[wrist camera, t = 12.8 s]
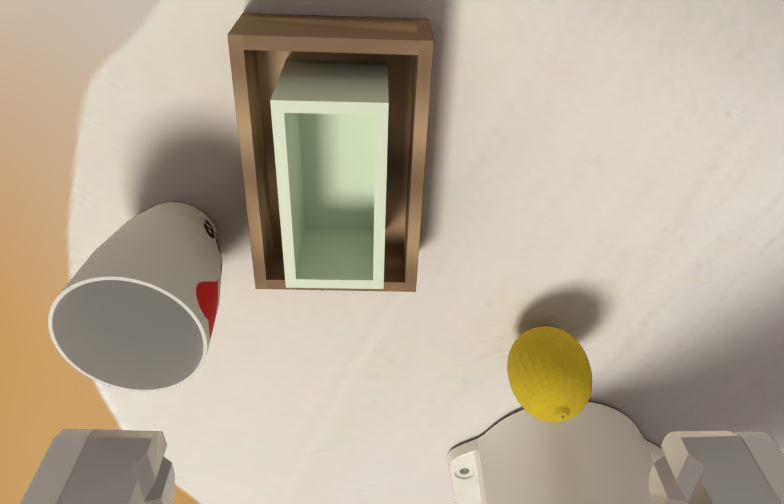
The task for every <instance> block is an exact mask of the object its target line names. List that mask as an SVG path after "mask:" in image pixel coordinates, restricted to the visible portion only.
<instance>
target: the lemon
mask: <svg viewBox="0 0 784 504" xmlns="http://www.w3.org/2000/svg"><path fill="white" fill-rule="evenodd" d="M507 371H508V377H509V381H510V385H511V388H512V390H513V393H514V395H515V396H516V398H517V400H518V401H519V403H520V404H521V406H522V407H523V408H524V409H525V410H526V411H527V412H528V413H529V414H531V415H532V416H533V417H535V418H537V419H540V420H542V421H546V422H552V423H558V422H564V421H567V420H570V419H572V418H574V417H575V416H577V415H578V414H579V413H581V412H582V410H583V409H584V408H585V407H586V405H587V404H588V401H589V399H590V396H591V392H592V372H591V367H590V364H589V361H588V358H587V355H586V353H585V351H584V350H583V348H582V347H581V345H580V344H579V343H578V342H577V340H576V339H575V338H574V337H573V336H571V335H570V334H568V333H567V332H565V331H564V330H561V329H558V328H556V327H550V326H541V327H536V328H532V329H530V330H528V331H526V332H524V333H523V334H522V335H520V336H519V337H518V339H517V340H516V341H515V342H514V344H513V345H512V348H511V350H510V352H509V356H508V364H507Z"/></svg>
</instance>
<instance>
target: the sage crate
mask: <svg viewBox="0 0 784 504" xmlns="http://www.w3.org/2000/svg"><path fill="white" fill-rule="evenodd" d="M270 104H271V116H272V128H273V140H274V152H275V164H276V176H277V188H278V200H279V212H280V224H281V236H282V248H283V260H284V272H285V283H286V288H346V289H384V253H385V217H386V180H387V143H388V106H389V99H388V62H378V61H337V60H296V59H286V61H285V64H284V66H283V69H282V71H281V74H280V76H279V79H278V82H277V84H276V87H275V89H274V92H273V94H272V97H271V99H270Z"/></svg>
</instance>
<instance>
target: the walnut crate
mask: <svg viewBox="0 0 784 504" xmlns="http://www.w3.org/2000/svg"><path fill="white" fill-rule="evenodd" d="M433 42H434V41H433V36H432V32H431V28H430V23H429V19H406V18H375V17H344V16H312V15H281V14H250V13H242V15H241V16H240V18H239V19H238V20H237V22H236V23H235V25H234V26H233V28H232V29H231V30H230V32H229V33H228V44H229V53H230V62H231V71H232V80H233V89H234V98H235V107H236V116H237V125H238V134H239V143H240V152H241V161H242V170H243V179H244V188H245V197H246V206H247V215H248V224H249V233H250V242H251V251H252V260H253V269H254V278H255V287H256V289H296V290H350V291H403V292H416V282H417V268H418V254H419V240H420V226H421V212H422V198H423V183H424V169H425V155H426V141H427V127H428V113H429V99H430V85H431V71H432V56H433ZM286 59H296V60H337V61H378V62H388V99H389V106H388V143H387V180H386V217H385V253H384V289H346V288H286V283H285V272H284V260H283V248H282V236H281V224H280V212H279V200H278V188H277V176H276V164H275V152H274V140H273V128H272V116H271V104H270V99H271V97H272V94H273V92H274V89H275V87H276V84H277V82H278V79H279V76H280V74H281V71H282V69H283V66H284V64H285V61H286Z"/></svg>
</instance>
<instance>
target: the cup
mask: <svg viewBox="0 0 784 504" xmlns="http://www.w3.org/2000/svg"><path fill="white" fill-rule="evenodd" d="M221 272H222V257H221V251H220V244H219V238H218V233H217V230H216V227H215V225H214V224H213V222H212V221H211V220H210V218H209V217H208V216H207V215H205V214H204V213H203V212H202V211H200V210H199V209H197V208H195V207H193V206H191V205H188V204H184V203H179V202H166V203H161V204H158V205H156V206H154V207H152V208H150V209H148V210H146V211H145V212H143V213H141V214H139V215H137V216H136V217H134V218H132V219H130V220H129V221H128V222H126V223H125V224H124V225H123V226H122V227H121V228H120V229H118V230H117V231H116V232H115V233H114V234H113V235H112V236H111V237H110V238H108V239H107V240H106V241H105V242H104V243H103V244H102V245H101V246H100V247H98V248H97V249H96V250H95V251H94V252H93V253H92V255H91V256H90V257H89V258H88V260H87V261H86V262H85V263H84V265H83V266H82V267H81V268H80V269H79V271H78V272H77V273H76V274H75V276H74V277H73V278H72V279H71V281H70V282H69V283H68V284H67V286H66V287H65V288H64V289H63V290H62V292H61V293H60V294H59V296H58V297H57V298H56V299H55V301H54V302H53V304H52V306H51V309H50V312H49V317H48V327H49V332H50V336H51V338H52V341H53V343H54V345H55V346H56V348H57V350H58V351H59V352H60V354H61V355H62V356H63V357H64V358H65V360H66V361H68V363H70V364H71V365H72V366H73V367H74V368H76V369H77V370H78V371H80V372H81V373H82V374H84V375H86V376H87V377H89V378H91V379H93V380H95V381H97V382H99V383H102V384H104V385H107V386H110V387H113V388H117V389H121V390H126V391H133V392H157V391H164V390H168V389H171V388H175V387H177V386H180V385H182V384H184V383H185V382H187V381H189V380H190V379H191V378H193V377H194V376H195V375H196V374H197V373H198V372H199V370H200V369H201V367H202V366H203V364H204V362H205V359H206V355H207V351H208V347H209V343H210V339H211V335H212V330H213V326H214V322H215V318H216V314H217V310H218V306H219V297H220V284H221Z"/></svg>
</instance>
